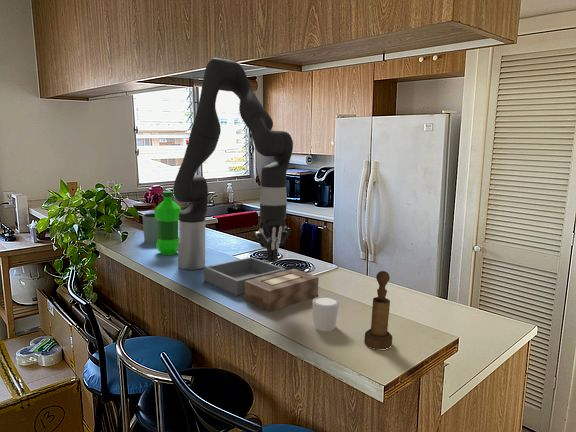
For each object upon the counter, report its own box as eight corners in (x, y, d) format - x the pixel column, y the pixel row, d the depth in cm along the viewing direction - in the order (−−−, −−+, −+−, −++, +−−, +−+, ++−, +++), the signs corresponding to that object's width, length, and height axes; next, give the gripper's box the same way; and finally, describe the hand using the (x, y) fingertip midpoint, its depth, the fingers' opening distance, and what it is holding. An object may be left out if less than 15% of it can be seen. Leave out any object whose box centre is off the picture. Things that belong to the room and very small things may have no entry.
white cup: (318, 334, 110) (320, 307, 109) (306, 323, 116) (307, 297, 115) (342, 330, 113) (344, 304, 111) (329, 319, 119) (331, 294, 118)
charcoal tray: (237, 297, 133) (237, 281, 132) (204, 281, 146) (204, 267, 145) (285, 283, 147) (286, 269, 146) (251, 270, 159) (251, 257, 159)
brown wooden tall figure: (392, 352, 102) (398, 277, 99) (363, 348, 103) (368, 274, 100) (391, 339, 108) (397, 268, 105) (364, 336, 110) (369, 266, 106)
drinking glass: (155, 237, 204) (155, 212, 202) (171, 240, 199) (171, 214, 197) (137, 241, 195) (137, 215, 193) (154, 245, 190) (153, 217, 188)
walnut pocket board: (268, 311, 123) (269, 291, 122) (244, 300, 131) (244, 281, 129) (317, 295, 136) (318, 277, 135) (292, 286, 144) (293, 268, 143)
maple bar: (271, 293, 127) (271, 284, 127) (262, 289, 130) (262, 281, 130) (301, 284, 135) (301, 276, 135) (291, 281, 138) (292, 273, 138)
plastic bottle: (175, 257, 173) (174, 194, 168) (150, 255, 174) (149, 192, 170) (186, 251, 182) (185, 191, 178) (162, 249, 184) (161, 189, 180)
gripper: (281, 199, 132) (280, 255, 135) (246, 202, 123) (246, 262, 126) (299, 202, 127) (297, 260, 130) (264, 206, 118) (263, 268, 121)
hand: (272, 261), depth 128 cm, fingers closed
